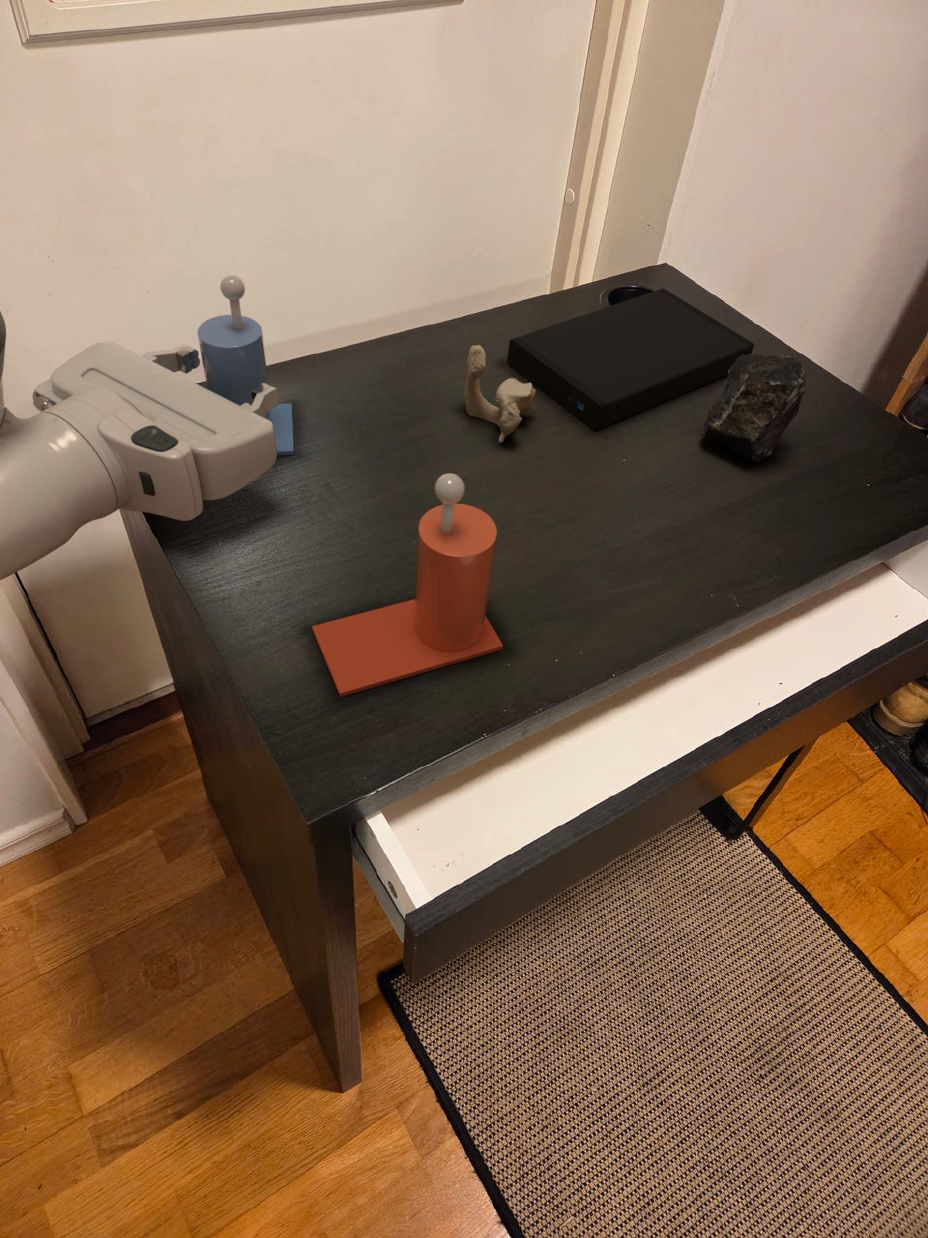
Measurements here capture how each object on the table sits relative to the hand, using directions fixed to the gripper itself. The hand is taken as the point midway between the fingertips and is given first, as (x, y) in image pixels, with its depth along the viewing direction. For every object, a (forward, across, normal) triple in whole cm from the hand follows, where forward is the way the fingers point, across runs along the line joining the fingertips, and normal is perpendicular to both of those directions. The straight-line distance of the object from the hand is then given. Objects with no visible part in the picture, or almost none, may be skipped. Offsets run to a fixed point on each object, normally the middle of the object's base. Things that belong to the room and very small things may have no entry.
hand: (232, 372), depth 75 cm
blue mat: (+1, 0, -7) cm, 7 cm away
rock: (+30, +38, -7) cm, 49 cm away
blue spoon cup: (+1, 0, -6) cm, 7 cm away
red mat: (-10, +27, -7) cm, 30 cm away
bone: (+18, +18, -7) cm, 26 cm away
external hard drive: (+36, +23, -7) cm, 43 cm away
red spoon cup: (-8, +29, -7) cm, 31 cm away
